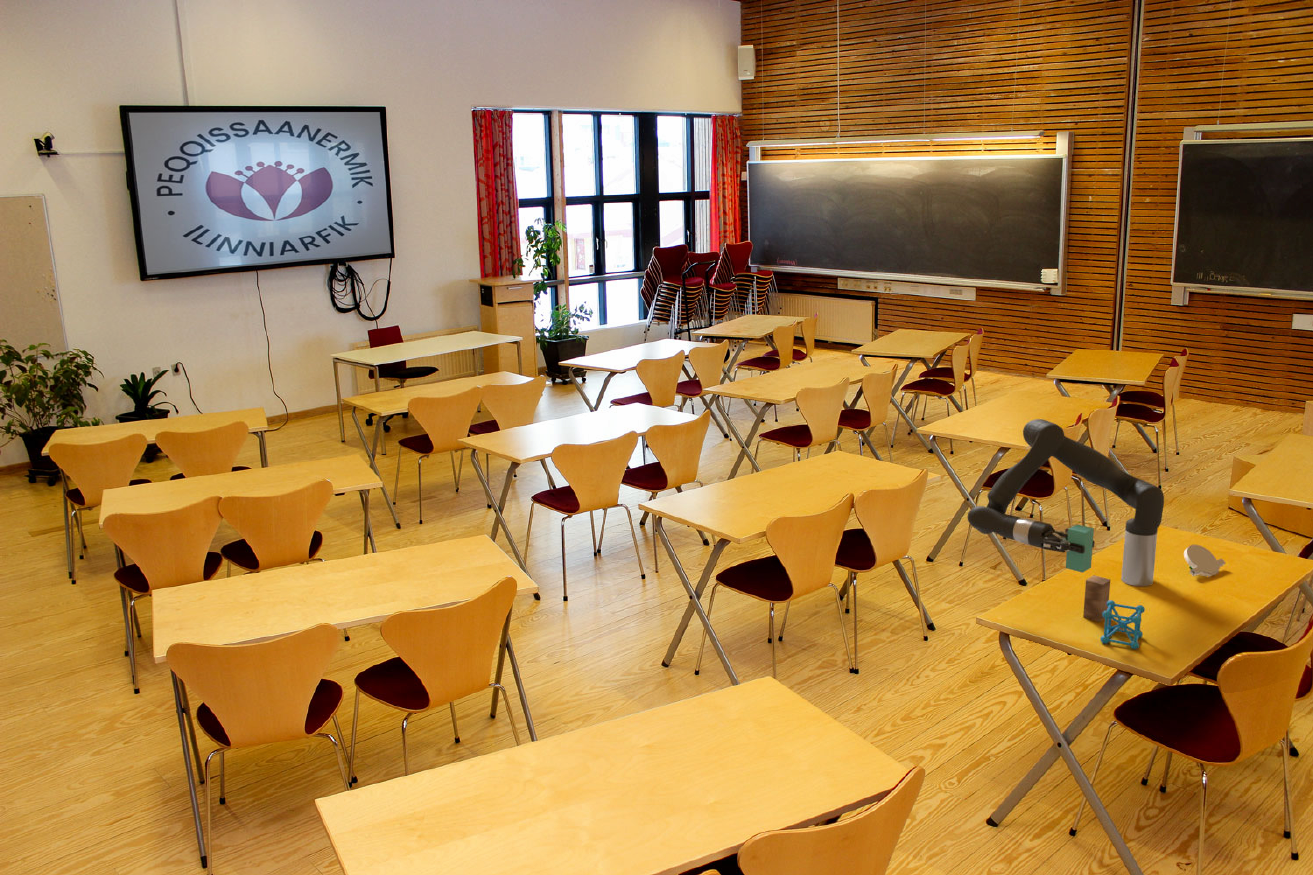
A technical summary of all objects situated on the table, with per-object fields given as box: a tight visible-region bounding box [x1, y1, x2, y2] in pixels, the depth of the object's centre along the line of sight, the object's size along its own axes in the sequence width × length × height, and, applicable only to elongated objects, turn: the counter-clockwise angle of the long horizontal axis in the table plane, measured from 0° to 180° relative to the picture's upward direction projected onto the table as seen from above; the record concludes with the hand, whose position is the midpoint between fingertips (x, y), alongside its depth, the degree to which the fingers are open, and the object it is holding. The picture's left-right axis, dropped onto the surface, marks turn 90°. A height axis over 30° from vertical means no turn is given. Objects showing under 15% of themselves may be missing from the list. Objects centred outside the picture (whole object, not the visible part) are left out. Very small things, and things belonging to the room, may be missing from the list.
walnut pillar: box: [1082, 574, 1111, 623], centre depth 299 cm, size 5×5×12 cm
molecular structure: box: [1100, 599, 1146, 650], centre depth 284 cm, size 10×10×10 cm
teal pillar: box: [1065, 524, 1095, 573], centre depth 286 cm, size 5×5×12 cm
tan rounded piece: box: [1183, 544, 1226, 578], centre depth 328 cm, size 15×8×11 cm, turn 118°
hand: (1088, 547), depth 284 cm, fingers closed on teal pillar, 5 cm apart
